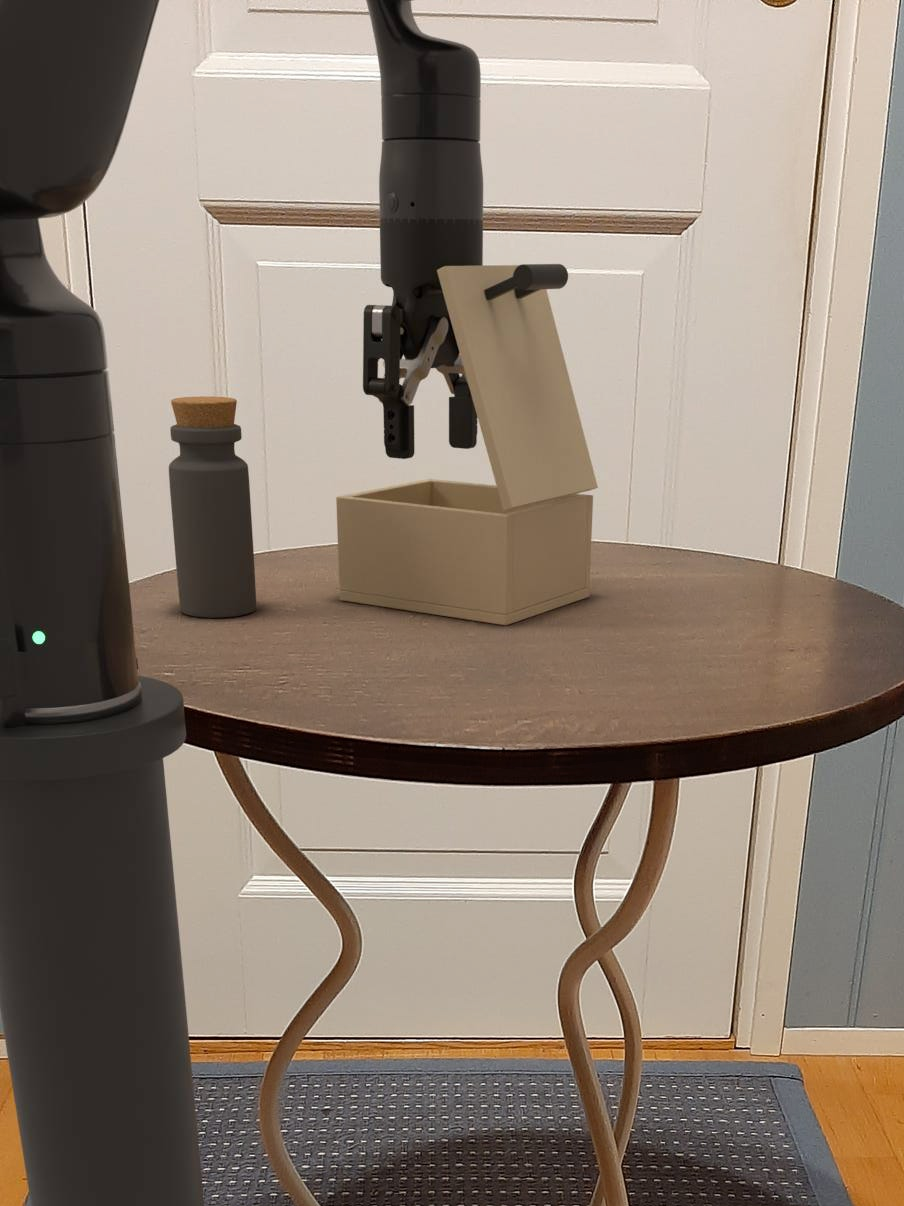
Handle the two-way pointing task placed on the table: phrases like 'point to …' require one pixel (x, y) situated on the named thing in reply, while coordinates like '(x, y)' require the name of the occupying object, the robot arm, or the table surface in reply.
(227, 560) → the bottle
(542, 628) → the table surface
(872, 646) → the table surface
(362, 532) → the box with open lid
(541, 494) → the hinged handled lid
